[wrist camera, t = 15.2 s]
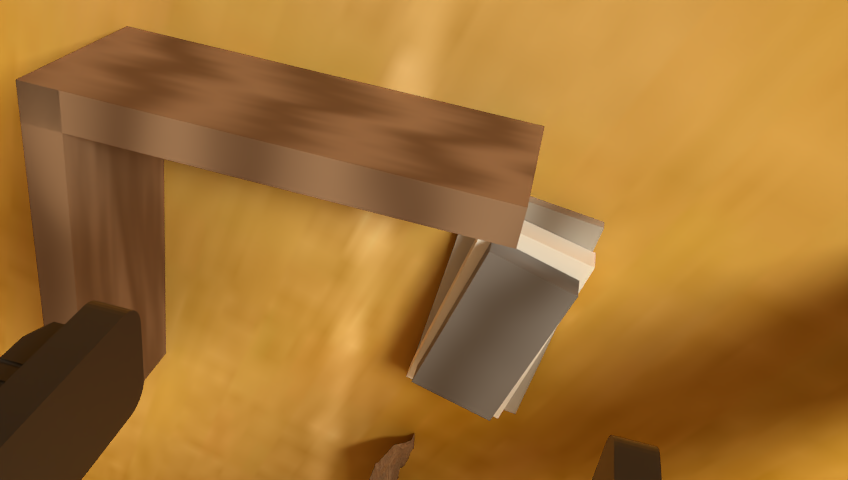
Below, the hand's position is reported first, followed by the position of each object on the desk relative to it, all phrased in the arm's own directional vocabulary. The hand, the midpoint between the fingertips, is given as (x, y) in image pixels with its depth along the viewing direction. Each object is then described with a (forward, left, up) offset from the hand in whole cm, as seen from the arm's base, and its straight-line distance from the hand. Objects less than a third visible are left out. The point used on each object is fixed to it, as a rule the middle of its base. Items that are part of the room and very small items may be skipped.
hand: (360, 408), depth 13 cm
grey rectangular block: (-2, +16, -26) cm, 30 cm away
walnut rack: (+10, +16, -28) cm, 33 cm away
